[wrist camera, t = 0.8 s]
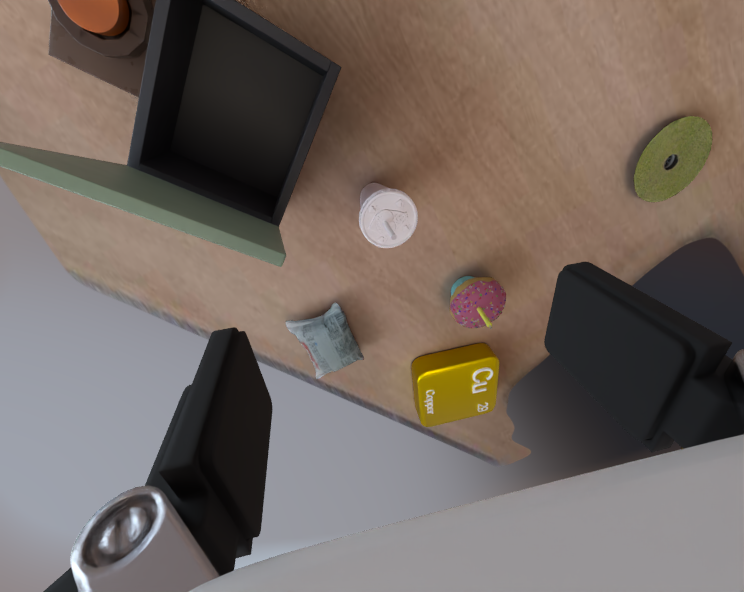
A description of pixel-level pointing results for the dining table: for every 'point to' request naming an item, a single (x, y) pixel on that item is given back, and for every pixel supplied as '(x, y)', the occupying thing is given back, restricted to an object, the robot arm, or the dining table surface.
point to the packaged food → (327, 340)
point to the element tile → (455, 384)
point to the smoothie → (386, 215)
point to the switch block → (105, 46)
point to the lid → (149, 199)
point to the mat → (673, 159)
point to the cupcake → (476, 301)
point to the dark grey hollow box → (228, 105)
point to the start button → (98, 15)
